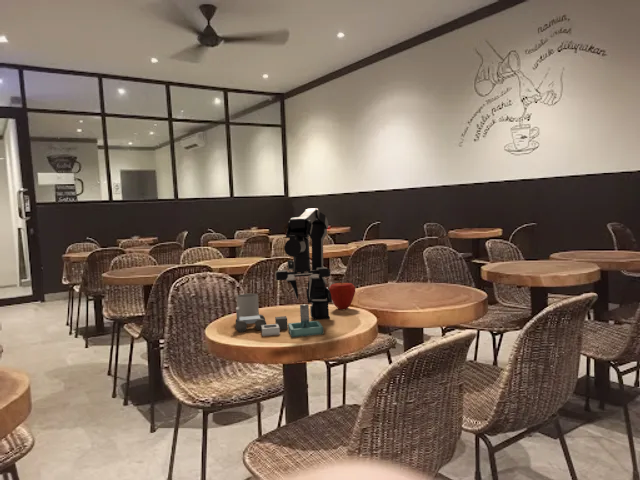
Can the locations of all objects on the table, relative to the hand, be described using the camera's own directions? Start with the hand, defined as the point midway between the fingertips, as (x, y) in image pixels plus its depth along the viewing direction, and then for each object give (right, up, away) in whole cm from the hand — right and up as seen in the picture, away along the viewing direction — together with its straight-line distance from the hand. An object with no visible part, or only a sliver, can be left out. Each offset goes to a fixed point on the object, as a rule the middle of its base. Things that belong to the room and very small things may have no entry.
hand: (303, 298), depth 169 cm
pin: (+1, -11, +1) cm, 11 cm away
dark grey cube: (-8, -12, +8) cm, 17 cm away
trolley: (-19, -12, +10) cm, 25 cm away
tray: (+1, -12, +1) cm, 12 cm away
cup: (-23, -12, +25) cm, 36 cm away
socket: (-12, -13, +2) cm, 17 cm away
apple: (+15, -9, +38) cm, 42 cm away
